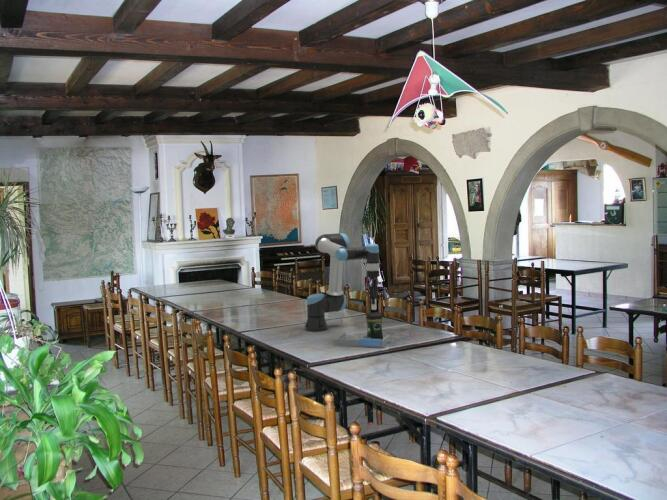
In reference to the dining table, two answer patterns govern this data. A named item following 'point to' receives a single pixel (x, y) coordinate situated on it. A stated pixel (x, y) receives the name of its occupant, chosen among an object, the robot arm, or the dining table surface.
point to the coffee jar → (374, 325)
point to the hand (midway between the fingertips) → (374, 309)
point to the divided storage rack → (361, 341)
